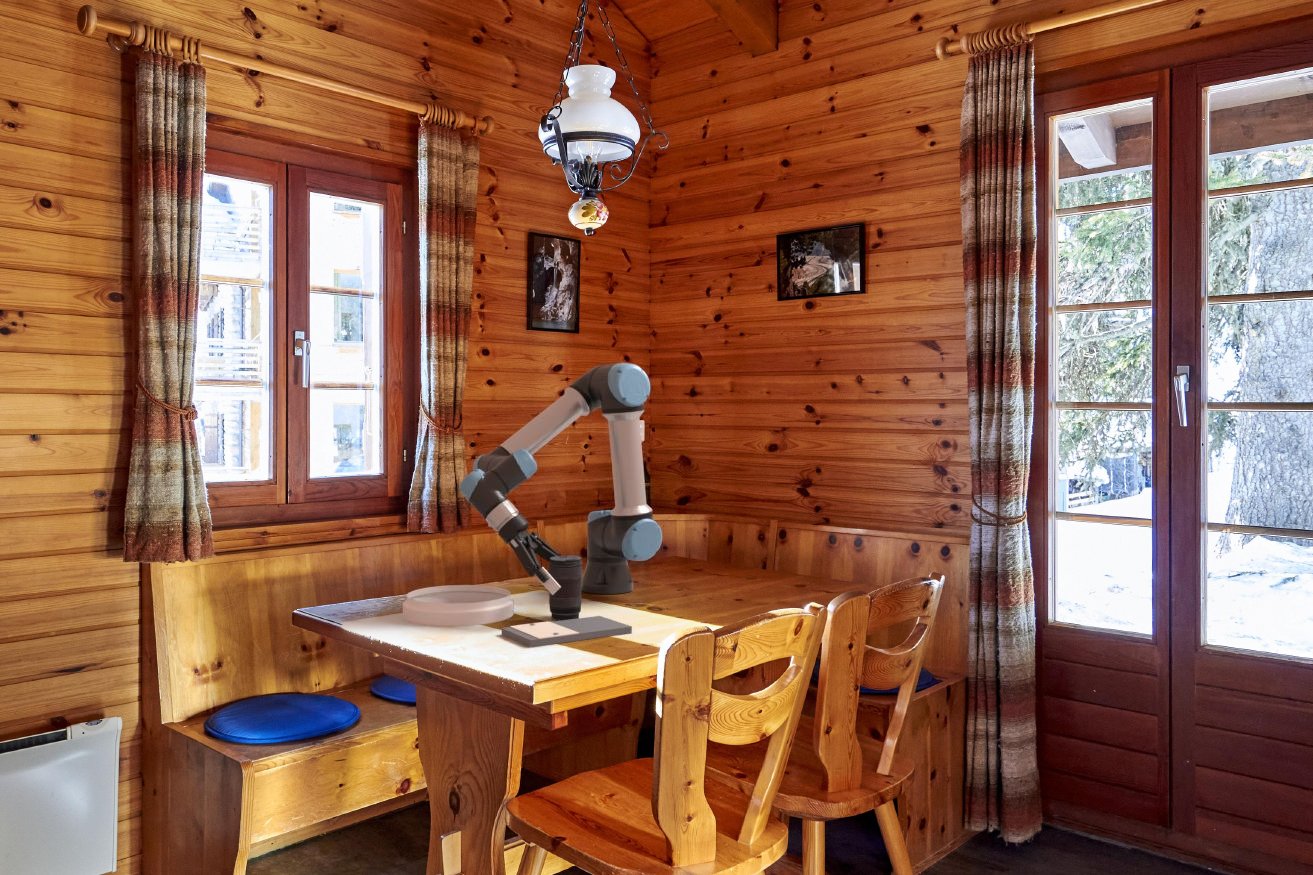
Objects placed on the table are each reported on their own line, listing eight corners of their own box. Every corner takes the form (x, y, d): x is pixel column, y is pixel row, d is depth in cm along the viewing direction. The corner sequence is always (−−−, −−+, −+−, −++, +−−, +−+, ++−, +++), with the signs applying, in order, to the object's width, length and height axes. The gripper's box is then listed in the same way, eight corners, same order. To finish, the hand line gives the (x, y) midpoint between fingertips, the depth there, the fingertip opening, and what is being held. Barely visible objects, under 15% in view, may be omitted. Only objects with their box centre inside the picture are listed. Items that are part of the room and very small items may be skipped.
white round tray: (479, 631, 215) (479, 607, 214) (380, 621, 223) (380, 598, 223) (532, 609, 240) (532, 588, 240) (441, 601, 249) (441, 581, 249)
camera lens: (542, 617, 229) (543, 556, 229) (570, 613, 234) (571, 554, 234) (559, 623, 223) (560, 560, 223) (587, 619, 228) (588, 558, 228)
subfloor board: (599, 621, 225) (599, 614, 225) (631, 632, 214) (631, 624, 214) (501, 634, 210) (501, 626, 210) (530, 647, 199) (530, 638, 199)
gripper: (515, 527, 244) (569, 587, 241) (478, 538, 219) (538, 605, 216) (535, 508, 243) (589, 568, 240) (500, 517, 218) (560, 584, 215)
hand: (565, 586), depth 228 cm, fingers open, 13 cm apart
